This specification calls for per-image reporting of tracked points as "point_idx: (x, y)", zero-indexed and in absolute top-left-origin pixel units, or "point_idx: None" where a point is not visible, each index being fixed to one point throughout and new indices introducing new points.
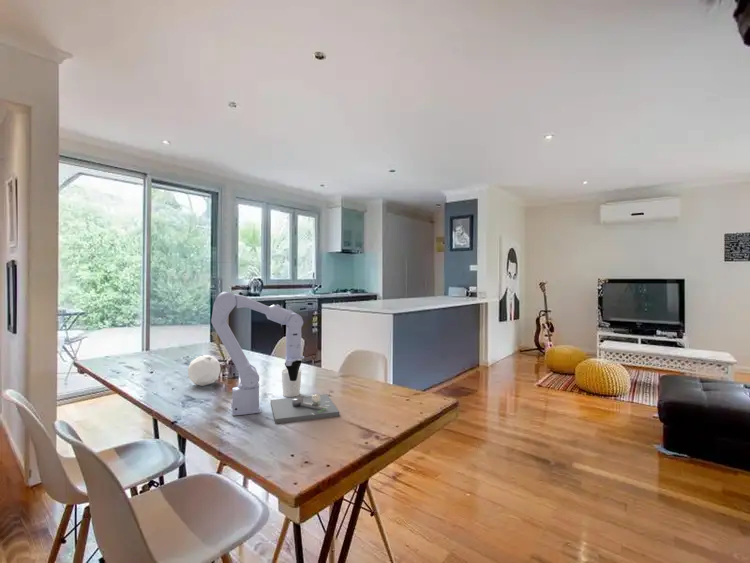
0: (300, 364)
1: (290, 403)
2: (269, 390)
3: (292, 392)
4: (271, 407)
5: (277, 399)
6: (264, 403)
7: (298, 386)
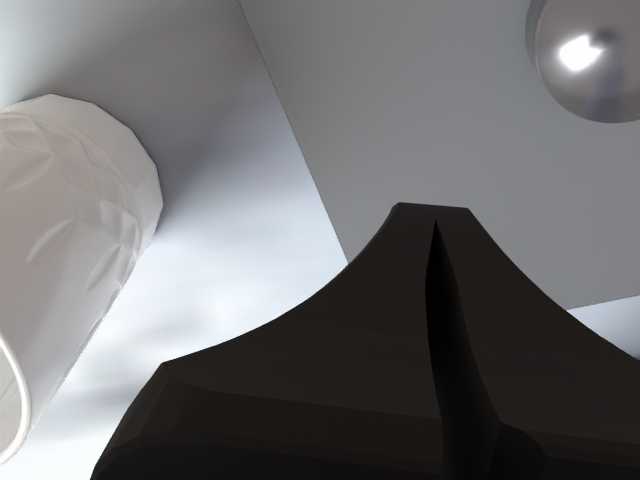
0: (300, 360)
1: (514, 128)
2: None
3: (132, 178)
4: None
5: None
6: None
7: (36, 139)
